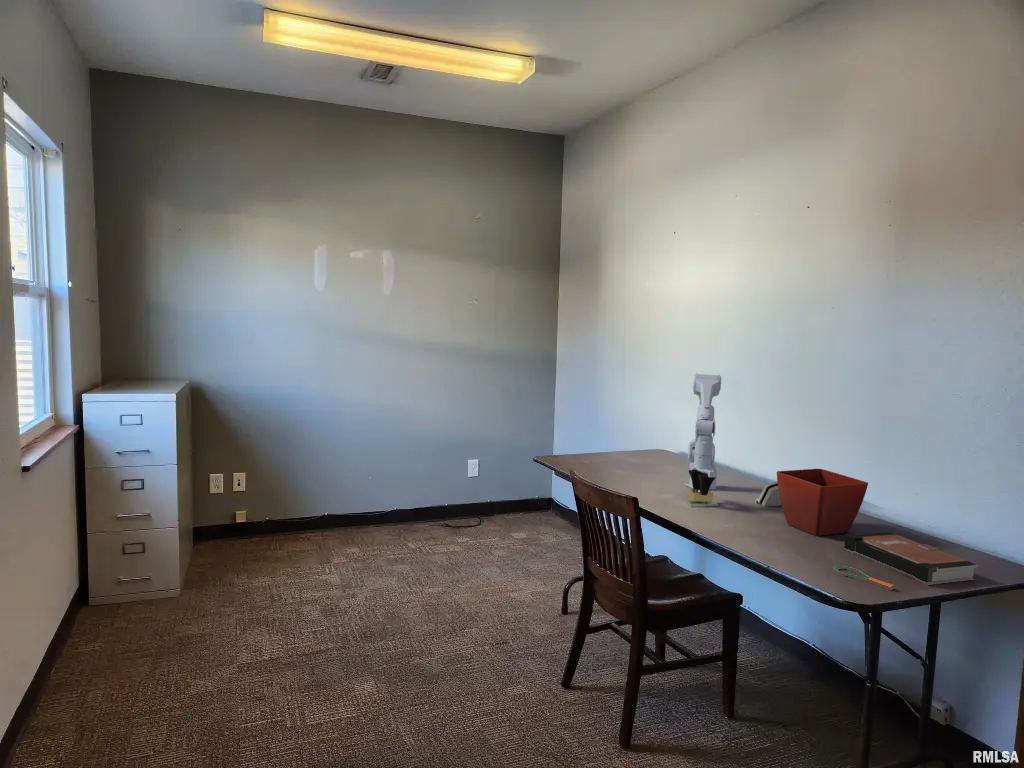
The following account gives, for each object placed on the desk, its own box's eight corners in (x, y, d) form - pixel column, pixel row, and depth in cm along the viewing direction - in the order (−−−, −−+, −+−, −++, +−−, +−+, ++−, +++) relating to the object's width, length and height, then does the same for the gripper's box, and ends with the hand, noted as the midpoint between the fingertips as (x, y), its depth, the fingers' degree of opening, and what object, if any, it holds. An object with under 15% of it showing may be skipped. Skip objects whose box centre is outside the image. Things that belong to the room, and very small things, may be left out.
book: (977, 581, 172) (979, 562, 172) (926, 587, 167) (928, 568, 166) (890, 547, 197) (892, 530, 196) (843, 551, 191) (845, 534, 191)
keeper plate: (707, 500, 237) (708, 487, 237) (717, 506, 231) (718, 492, 230) (681, 501, 235) (682, 487, 235) (690, 506, 229) (691, 492, 228)
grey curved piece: (792, 500, 243) (801, 477, 239) (800, 508, 239) (810, 485, 235) (753, 502, 238) (762, 479, 234) (761, 510, 234) (770, 486, 230)
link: (705, 497, 236) (706, 489, 236) (712, 501, 231) (713, 492, 231) (687, 497, 235) (687, 489, 234) (693, 501, 230) (694, 493, 229)
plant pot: (817, 541, 197) (822, 485, 196) (770, 522, 215) (775, 470, 213) (864, 536, 205) (870, 482, 203) (815, 518, 222) (820, 468, 221)
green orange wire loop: (828, 572, 174) (828, 565, 174) (842, 568, 177) (842, 562, 177) (885, 594, 161) (886, 587, 161) (899, 590, 164) (900, 583, 164)
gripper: (683, 450, 238) (680, 487, 239) (702, 458, 223) (699, 498, 225) (701, 450, 239) (698, 487, 240) (721, 458, 225) (718, 498, 226)
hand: (700, 492), depth 233 cm, fingers closed on link, 5 cm apart
